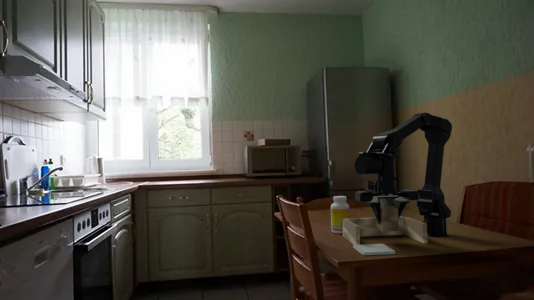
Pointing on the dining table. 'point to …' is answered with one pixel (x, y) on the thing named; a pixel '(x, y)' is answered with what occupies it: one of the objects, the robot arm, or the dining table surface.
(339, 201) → the supplement bottle
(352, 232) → the wooden u-shaped frame
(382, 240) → the dining table surface
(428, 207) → the robot arm
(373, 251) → the tile
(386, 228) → the block
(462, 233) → the dining table surface
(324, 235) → the dining table surface
